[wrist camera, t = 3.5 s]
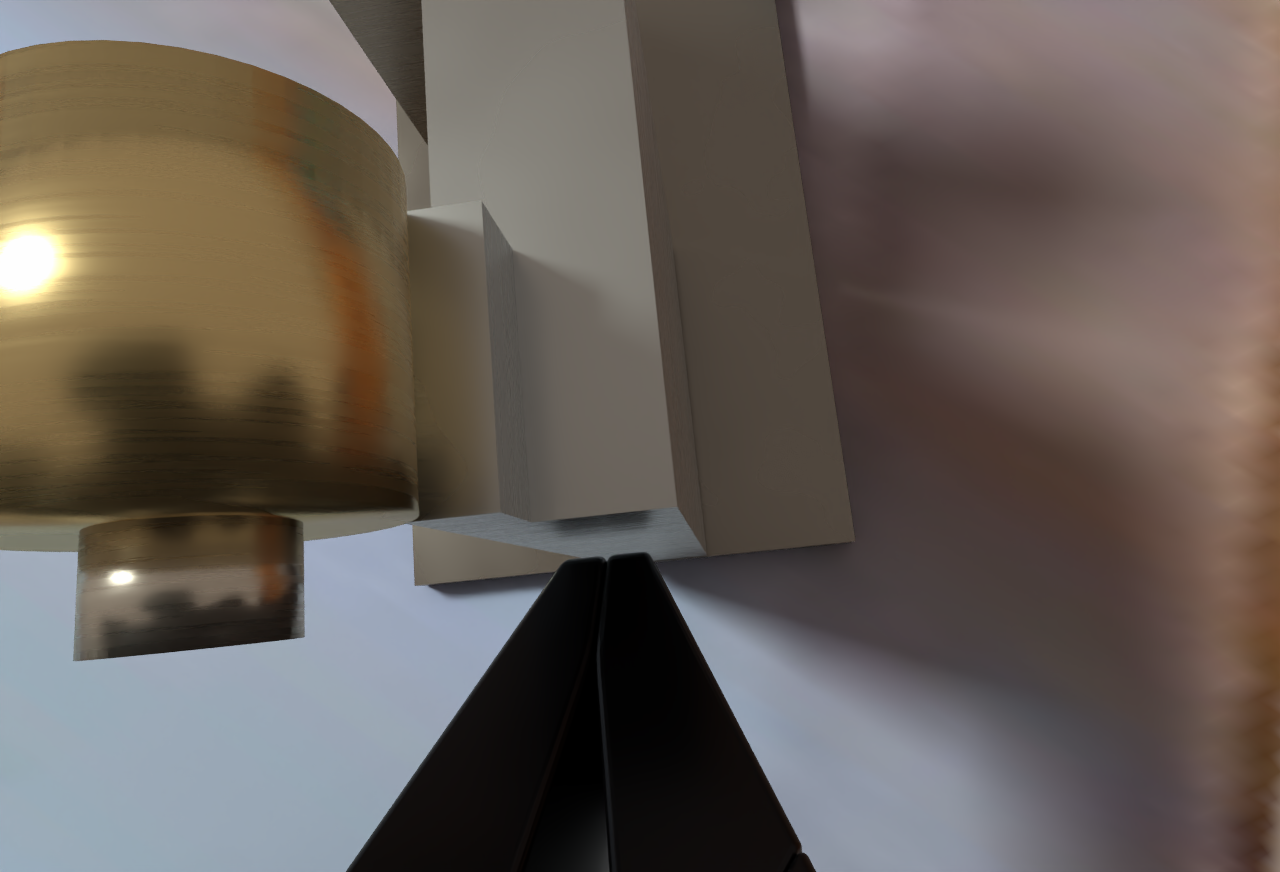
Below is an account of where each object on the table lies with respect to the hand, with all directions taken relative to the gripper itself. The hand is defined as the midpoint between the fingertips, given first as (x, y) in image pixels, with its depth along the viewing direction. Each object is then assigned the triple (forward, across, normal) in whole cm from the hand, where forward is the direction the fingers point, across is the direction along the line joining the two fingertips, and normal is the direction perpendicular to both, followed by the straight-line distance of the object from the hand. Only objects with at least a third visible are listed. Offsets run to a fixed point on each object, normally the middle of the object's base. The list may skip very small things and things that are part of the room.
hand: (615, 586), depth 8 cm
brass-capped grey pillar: (+7, +1, +2) cm, 8 cm away
